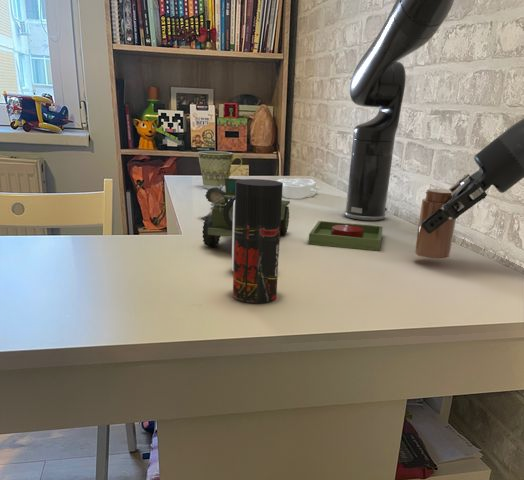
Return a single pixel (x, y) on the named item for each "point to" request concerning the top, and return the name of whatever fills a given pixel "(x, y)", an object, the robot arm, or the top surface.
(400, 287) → the top surface
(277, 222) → the deodorant
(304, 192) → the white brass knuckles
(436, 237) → the jar
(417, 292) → the top surface
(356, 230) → the jar lid
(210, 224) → the toy jeep
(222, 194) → the eagle figurine
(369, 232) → the tray
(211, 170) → the ceramic cup
